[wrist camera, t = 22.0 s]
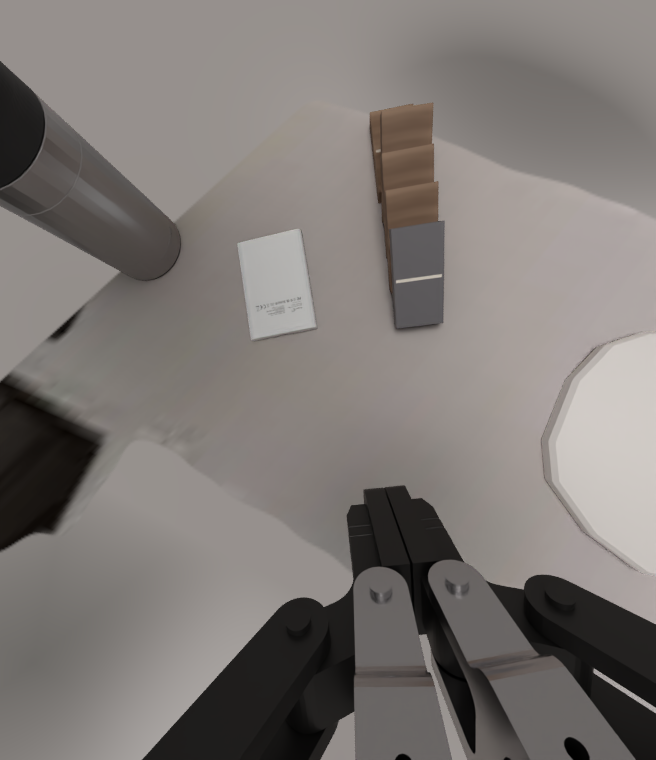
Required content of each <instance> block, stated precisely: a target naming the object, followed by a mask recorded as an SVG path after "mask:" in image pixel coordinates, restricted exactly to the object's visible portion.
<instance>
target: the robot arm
mask: <svg viewBox="0 0 656 760" xmlns="http://www.w3.org/2000/svg"><path fill="white" fill-rule="evenodd" d="M0 206H1V207H3V208H5V209H7V210H9V211H10V212H13V213H14V214H16V215H18V216H20V217H22V218H24V219H25V220H27V221H29V222H31V223H33V224H35V225H37V226H39V227H40V228H42V229H44V230H46V231H48V232H50V233H52V234H53V235H55V236H57V237H59V238H61V239H63V240H64V241H66V242H68V243H70V244H72V245H73V246H75V247H77V248H79V249H81V250H83V251H84V252H86V253H88V254H90V255H92V256H94V257H96V258H98V259H99V260H101V261H103V262H105V263H106V264H108V265H110V266H112V267H114V268H116V269H117V270H119V271H121V272H123V273H125V274H127V275H129V276H131V277H133V278H135V279H139V280H151V279H155V278H157V277H159V276H161V275H163V274H164V273H165V272H167V271H168V270H169V269H170V268H171V267H172V265H173V264H174V262H175V261H176V259H177V256H178V254H179V250H180V236H179V232H178V229H177V228H176V226H175V224H174V223H173V222H172V221H171V220H170V219H169V218H168V217H167V216H166V215H165V214H164V213H163V212H162V211H161V210H160V209H158V208H157V207H156V206H155V205H154V204H153V203H152V202H151V201H150V200H149V199H148V198H147V197H146V196H145V195H144V194H143V193H141V192H140V191H139V190H138V189H137V188H136V187H135V186H134V185H133V184H132V183H131V182H130V181H129V180H127V179H126V178H125V177H124V176H123V175H122V174H121V173H120V172H119V171H118V170H117V169H116V168H115V167H113V165H111V164H110V163H109V162H108V161H107V160H106V159H105V158H104V157H103V156H102V155H101V154H100V153H99V152H98V151H96V150H95V149H94V148H93V147H92V146H91V145H90V144H89V143H88V142H87V141H86V140H85V139H83V138H82V137H81V136H80V135H79V134H78V133H77V132H76V131H75V130H74V129H73V128H72V127H71V126H70V125H68V124H67V123H66V122H65V121H64V120H63V119H62V118H61V117H60V116H59V115H57V114H56V113H55V112H54V111H53V110H52V109H51V108H50V107H49V106H48V105H47V104H46V103H45V102H44V101H43V100H42V99H40V98H39V97H38V96H37V95H36V94H35V93H34V92H33V91H32V90H31V89H30V88H29V87H28V86H27V85H26V84H25V83H24V82H22V81H21V80H20V79H19V78H18V77H17V76H16V75H15V74H13V72H11V71H10V70H9V69H8V68H7V67H6V66H5V65H4V64H3V63H2V62H1V61H0ZM347 523H348V533H349V543H350V553H351V562H352V570H353V578H354V580H353V584H352V587H351V588H350V590H349V591H348V593H347V594H346V595H345V596H344V597H343V598H341V599H340V600H339V601H337V602H335V603H333V604H330V605H328V606H326V607H323V606H322V605H321V604H320V603H319V602H317V601H316V600H314V599H311V598H297V599H293V600H291V601H289V602H287V603H285V604H284V605H282V606H281V607H280V608H279V609H278V610H277V611H276V612H275V613H274V615H273V616H272V617H271V618H270V619H269V620H268V621H267V622H266V624H265V625H264V626H263V627H262V628H261V629H260V630H259V631H258V632H257V633H256V635H255V636H254V637H253V638H252V639H251V640H250V641H249V642H248V643H247V644H246V645H245V647H244V648H243V649H242V650H241V651H240V652H239V653H238V654H237V656H236V657H235V658H234V659H233V660H232V661H231V662H230V663H229V664H228V665H227V667H226V668H225V669H224V670H223V671H222V672H221V673H220V674H219V675H218V676H217V678H216V679H215V680H214V681H213V682H212V683H211V684H210V685H209V687H208V688H207V689H206V690H205V691H204V692H203V693H202V694H201V695H200V696H199V697H198V699H197V700H196V701H195V702H194V703H193V704H192V705H191V706H190V707H189V709H188V710H187V711H186V712H185V713H184V714H183V715H182V716H181V717H180V719H179V720H178V721H177V722H176V723H175V724H174V725H173V726H172V727H171V728H170V730H169V731H168V732H167V733H166V734H165V735H164V736H163V737H162V738H161V739H160V741H159V742H158V743H157V744H156V745H155V746H154V747H153V748H152V750H151V751H150V752H149V753H148V754H147V755H146V756H145V757H144V758H143V759H142V760H320V759H321V757H322V755H323V753H324V751H325V750H326V748H327V746H328V744H329V742H330V740H331V738H332V736H333V734H334V732H335V730H336V728H337V725H338V721H339V720H340V719H342V718H344V717H345V716H347V715H349V714H350V713H352V712H354V711H355V752H356V754H355V757H356V760H452V757H451V753H450V749H449V744H448V740H447V736H446V732H445V727H444V723H443V719H442V715H441V710H440V706H439V702H438V698H437V693H436V689H435V685H434V682H433V679H432V676H431V674H430V673H429V672H427V669H426V666H425V661H424V656H423V652H422V648H421V643H420V639H419V635H422V634H427V637H428V640H429V643H430V647H431V662H432V667H433V670H434V673H435V676H436V678H437V680H438V683H439V686H440V689H441V691H442V694H443V696H444V699H445V702H446V705H447V707H448V710H449V712H450V715H451V718H452V720H453V723H454V726H455V728H456V731H457V734H458V736H459V739H460V742H461V744H462V747H463V749H464V752H465V755H466V757H467V760H656V713H654V712H652V711H651V710H649V709H648V708H646V707H645V706H643V705H642V704H640V703H639V702H637V701H636V700H634V699H632V698H631V697H629V696H628V695H626V694H625V693H623V692H622V691H620V690H619V689H617V688H615V687H614V686H612V685H611V684H609V683H608V682H606V681H605V680H603V679H602V678H600V677H598V676H597V675H595V674H594V673H593V670H594V668H595V669H596V670H598V671H599V672H601V673H602V674H604V675H606V676H607V677H609V678H610V679H612V680H613V681H615V682H617V683H618V684H620V685H621V686H623V687H624V688H626V689H628V690H629V691H631V692H632V693H634V694H635V695H637V696H639V697H640V698H642V699H643V700H645V701H646V702H648V703H650V704H651V705H653V706H654V707H656V624H654V623H652V622H650V621H648V620H646V619H644V618H642V617H640V616H638V615H635V614H633V613H631V612H629V611H627V610H625V609H623V608H621V607H619V606H617V605H615V604H613V603H611V602H609V601H607V600H605V599H603V598H601V597H599V596H597V595H595V594H593V593H591V592H589V591H587V590H585V589H583V588H581V587H579V586H577V585H575V584H573V583H571V582H569V581H567V580H564V579H562V578H559V577H555V576H551V575H535V576H533V577H531V578H529V579H528V580H527V581H526V583H525V586H524V590H522V589H517V588H511V587H505V586H500V585H496V584H493V583H490V582H488V581H485V579H484V578H483V576H482V575H481V574H480V573H479V572H478V571H477V570H476V569H475V568H473V567H472V566H470V565H468V564H466V563H464V561H463V559H462V558H461V556H460V554H459V552H458V551H457V549H456V547H455V545H454V544H453V542H452V540H451V538H450V536H449V535H448V533H447V531H446V529H445V528H444V526H443V524H442V522H441V521H440V519H439V517H438V515H437V513H436V512H435V510H434V508H433V506H431V505H430V504H429V503H427V502H426V501H425V500H423V499H422V498H419V499H411V497H410V495H409V493H408V491H407V489H406V487H405V486H404V485H403V486H393V487H385V488H374V489H365V490H364V504H361V505H351V507H350V509H349V512H348V514H347Z"/></svg>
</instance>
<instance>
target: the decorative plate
mask: <svg viewBox="0 0 656 760" xmlns="http://www.w3.org/2000/svg"><path fill="white" fill-rule="evenodd" d="M541 443H542V454H543V465H544V476H545V480H546V481H547V482H548V484H549V485H550V487H551V488H552V489H553V491H554V492H555V493H556V495H557V496H558V498H559V499H560V500H561V502H562V503H563V505H564V506H565V507H566V509H567V510H568V512H569V513H570V514H571V516H572V517H573V518H574V520H575V521H576V523H577V524H578V525H579V527H580V528H581V530H582V531H584V532H585V533H586V534H588V535H589V536H590V537H592V538H593V539H594V540H596V541H597V542H598V543H600V544H601V545H602V546H604V547H605V548H606V549H608V550H609V551H610V552H612V553H613V554H614V555H616V556H617V557H618V558H620V559H621V560H623V561H624V562H625V563H627V564H628V565H629V566H631V567H632V568H634V569H635V570H637V571H639V572H640V573H642V574H646V575H651V576H656V331H648V332H641V333H637V334H633V335H630V336H628V337H625V338H622V339H619V340H616V341H613V342H611V343H608V344H605V345H602V346H599V347H596V348H595V349H594V350H593V351H592V352H591V353H590V354H589V356H588V357H587V358H586V359H585V360H584V361H583V362H582V363H581V364H580V365H579V366H578V367H577V368H576V369H575V370H574V371H573V372H572V373H571V374H570V375H569V376H568V377H567V379H566V380H565V381H564V384H563V386H562V389H561V391H560V394H559V396H558V399H557V401H556V404H555V406H554V409H553V411H552V414H551V416H550V419H549V421H548V424H547V426H546V429H545V432H544V434H543V437H542V439H541Z"/></svg>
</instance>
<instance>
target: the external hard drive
mask: <svg viewBox="0 0 656 760" xmlns="http://www.w3.org/2000/svg"><path fill="white" fill-rule="evenodd" d="M237 246H238V253H239V259H240V266H241V273H242V280H243V287H244V294H245V301H246V308H247V315H248V322H249V329H250V336H251V340H252V341H257V340H262V339H267V338H272V337H277V336H280V335H285V334H292V333H298V332H303V331H308V330H313V329H317V323H316V317H315V311H314V304H313V298H312V292H311V286H310V279H309V273H308V267H307V261H306V255H305V249H304V243H303V237H302V232H301V230H300V229H293V230H289V231H285V232H281V233H277V234H272V235H268V236H264V237H260V238H256V239H251V240H247V241H243V242H239V243H238V244H237Z"/></svg>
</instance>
